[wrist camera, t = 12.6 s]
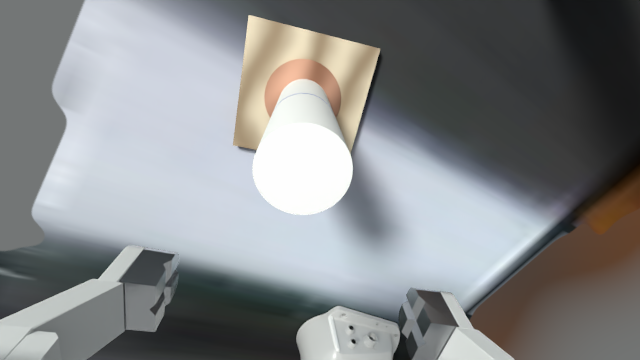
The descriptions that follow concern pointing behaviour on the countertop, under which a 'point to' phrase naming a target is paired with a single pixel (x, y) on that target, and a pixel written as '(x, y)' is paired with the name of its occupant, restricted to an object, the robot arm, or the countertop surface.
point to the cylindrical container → (302, 153)
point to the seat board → (300, 76)
